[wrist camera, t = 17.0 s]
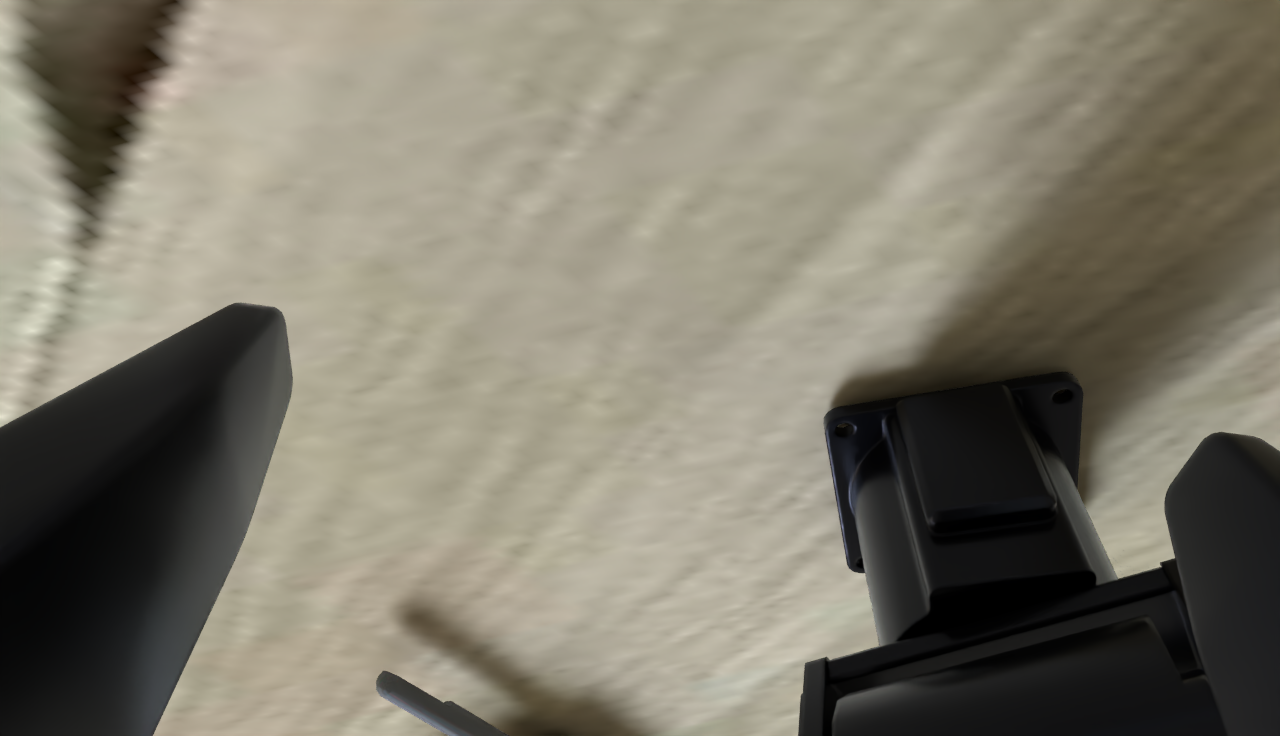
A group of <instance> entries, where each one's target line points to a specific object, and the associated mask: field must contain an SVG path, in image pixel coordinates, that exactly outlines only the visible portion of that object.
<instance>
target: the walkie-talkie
mask: <svg viewBox="0 0 1280 736" xmlns="http://www.w3.org/2000/svg"><path fill="white" fill-rule="evenodd" d="M376 690H377V691H378V693H379V695H380V696H381V697H383V698H385V699H386V700H388V701H390V702H392V703H393V704H395V705H397V706H398V707H400V708H402V709H404V710H405V711H407V712H409V713H411V714H412V715H414V716H416V717H417V718H419V719H421V720H423V721H424V722H426V723H428V724H429V725H431V726H433V727H435V728H436V729H438V730H440V731H441V732H443V733H445V734H447V735H448V736H509V735H507V734H505V733H504V732H502V731H500V730H499V729H497V728H495V727H494V726H492V725H490V724H489V723H487V722H485V721H484V720H482V719H480V718H479V717H477V716H475V715H474V714H472V713H470V712H469V711H467V710H465V709H464V708H462V707H460V706H459V705H457V704H455V703H454V702H452V701H446V702H444V703H443V702H441V701H440V700H438V699H436V698H434V697H433V696H431V695H429V694H428V693H426V692H424V691H423V690H421V689H419V688H417V687H416V686H414V685H412V684H411V683H409V682H407V681H406V680H404V679H402V678H401V677H399V676H397V675H395V674H392V673H390V672H387V671H383V672H382V673H381V674H380V675H379V676H378V678H377V681H376Z"/></svg>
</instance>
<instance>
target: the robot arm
mask: <svg viewBox="0 0 1280 736" xmlns="http://www.w3.org/2000/svg"><path fill="white" fill-rule="evenodd" d="M292 383H293V377H292V368H291V360H290V353H289V345H288V337H287V329H286V323H285V319H284V316H283V314H282V312H281V311H279V310H278V309H277V308H275V307H270V306H262V305H255V304H247V303H234V304H231V305H229V306H227V307H225V308H223V309H221V310H219V311H217V312H216V313H214V314H212V315H210V316H208V317H206V318H204V319H202V320H201V321H199V322H197V323H195V324H193V325H191V326H189V327H187V328H186V329H184V330H182V331H180V332H178V333H176V334H174V335H172V336H171V337H169V338H167V339H165V340H163V341H161V342H159V343H157V344H156V345H154V346H152V347H150V348H148V349H146V350H144V351H142V352H141V353H139V354H137V355H135V356H133V357H131V358H129V359H128V360H126V361H124V362H122V363H120V364H118V365H116V366H114V367H113V368H111V369H109V370H107V371H105V372H103V373H101V374H99V375H98V376H96V377H94V378H92V379H90V380H88V381H86V382H84V383H83V384H81V385H79V386H77V387H75V388H73V389H71V390H69V391H68V392H66V393H64V394H62V395H60V396H58V397H56V398H55V399H53V400H51V401H49V402H47V403H45V404H43V405H41V406H40V407H38V408H36V409H34V410H32V411H30V412H28V413H26V414H25V415H23V416H21V417H19V418H17V419H15V420H13V421H11V422H10V423H8V424H6V425H4V426H2V427H0V736H153V734H154V732H155V730H156V727H157V725H158V723H159V721H160V719H161V717H162V715H163V712H164V710H165V708H166V706H167V704H168V702H169V700H170V698H171V695H172V693H173V691H174V689H175V687H176V685H177V683H178V680H179V678H180V676H181V674H182V672H183V670H184V668H185V666H186V663H187V661H188V659H189V657H190V655H191V653H192V651H193V648H194V646H195V644H196V642H197V640H198V638H199V636H200V634H201V631H202V629H203V627H204V625H205V623H206V621H207V619H208V616H209V614H210V612H211V610H212V608H213V606H214V604H215V601H216V599H217V597H218V595H219V593H220V591H221V589H222V587H223V584H224V582H225V580H226V578H227V576H228V574H229V572H230V569H231V567H232V565H233V563H234V561H235V559H236V556H237V554H238V552H239V550H240V547H241V545H242V543H243V540H244V538H245V535H246V533H247V530H248V527H249V524H250V521H251V518H252V516H253V513H254V510H255V506H256V503H257V500H258V497H259V494H260V491H261V488H262V485H263V482H264V479H265V476H266V473H267V469H268V466H269V463H270V460H271V457H272V454H273V451H274V448H275V445H276V442H277V439H278V436H279V432H280V429H281V426H282V423H283V420H284V417H285V414H286V411H287V408H288V405H289V401H290V398H291V392H292ZM1062 389H1066V390H1065V391H1064V392H1062V393H1060V394H1054V393H1056V392H1057V391H1059V390H1062ZM1082 404H1083V391H1082V387H1081V386H1080V384H1079V382H1078V380H1077V378H1076V377H1075V376H1074V375H1073V374H1071V373H1068V372H1055V373H1049V374H1043V375H1036V376H1030V377H1024V378H1017V379H1011V380H1005V381H998V382H992V383H986V384H980V385H973V386H967V387H961V388H954V389H948V390H942V391H935V392H929V393H923V394H917V395H910V396H904V397H898V398H891V399H885V400H879V401H872V402H866V403H860V404H853V405H847V406H841V407H837V408H834V409H832V410H831V411H829V412H828V413H827V414H826V416H825V417H824V423H823V424H824V429H825V435H826V441H827V447H828V453H829V459H830V465H831V471H832V477H833V483H834V489H835V495H836V500H837V506H838V512H839V518H840V524H841V530H842V536H843V542H844V548H845V554H846V559H847V565H848V567H849V569H851V570H852V571H854V572H858V573H865V574H866V580H867V585H868V590H869V595H870V600H871V605H872V610H873V616H874V621H875V626H876V631H877V636H878V641H879V646H878V647H875V648H871V649H868V650H864V651H860V652H857V653H853V654H850V655H846V656H843V657H839V658H836V659H832V660H829V659H828V658H827V657H825V658H821V659H818V660H814V661H811V662H807V663H805V671H804V685H803V694H802V695H801V702H800V718H799V733H798V736H1280V451H1279V450H1277V449H1276V448H1274V447H1273V446H1271V445H1270V444H1268V443H1267V442H1265V441H1263V440H1262V439H1260V438H1257V437H1254V436H1248V435H1240V434H1233V433H1225V432H1218V433H1213V434H1211V435H1209V436H1208V437H1206V438H1204V440H1203V441H1202V442H1201V443H1200V444H1199V446H1198V447H1197V449H1196V450H1195V451H1194V453H1193V454H1192V456H1191V457H1190V458H1189V460H1188V461H1187V462H1186V464H1185V465H1184V467H1183V468H1182V469H1181V471H1180V472H1179V474H1178V475H1177V476H1176V478H1175V479H1174V481H1173V482H1172V483H1171V485H1170V486H1169V488H1168V491H1167V493H1166V497H1165V515H1166V520H1167V524H1168V528H1169V532H1170V537H1171V541H1172V545H1173V550H1174V554H1175V558H1174V559H1171V560H1167V561H1164V562H1160V565H1161V567H1159V568H1155V569H1152V570H1148V571H1144V572H1141V573H1137V574H1134V575H1130V576H1127V577H1123V578H1120V579H1118V577H1117V575H1116V573H1115V571H1114V569H1113V567H1112V564H1111V562H1110V560H1109V558H1108V556H1107V554H1106V551H1105V549H1104V547H1103V545H1102V543H1101V541H1100V538H1099V536H1098V534H1097V532H1096V530H1095V528H1094V525H1093V523H1092V521H1091V519H1090V517H1089V515H1088V512H1087V510H1086V508H1085V506H1084V504H1083V502H1082V499H1081V497H1080V495H1079V493H1078V491H1077V485H1078V469H1079V452H1080V436H1081V420H1082ZM843 423H848V424H849V425H848V426H846V427H837V426H838V425H840V424H843Z"/></svg>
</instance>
